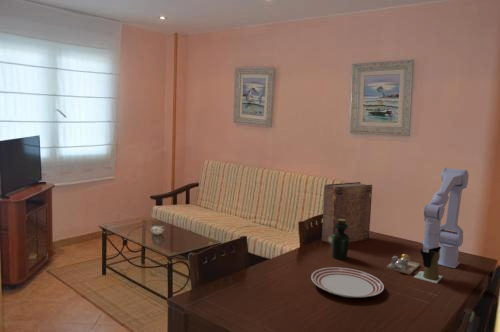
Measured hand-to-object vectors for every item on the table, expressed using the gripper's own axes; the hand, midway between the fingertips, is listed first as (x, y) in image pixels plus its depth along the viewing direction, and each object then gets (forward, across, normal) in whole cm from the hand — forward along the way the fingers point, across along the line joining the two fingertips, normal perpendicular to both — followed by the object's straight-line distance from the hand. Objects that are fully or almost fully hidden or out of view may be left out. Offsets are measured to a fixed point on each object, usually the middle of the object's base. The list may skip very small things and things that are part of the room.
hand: (429, 264), depth 176 cm
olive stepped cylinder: (+5, 0, +1) cm, 5 cm away
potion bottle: (+6, +3, -39) cm, 40 cm away
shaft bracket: (+5, -5, -12) cm, 14 cm away
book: (+6, -24, -49) cm, 55 cm away
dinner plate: (+6, +33, -21) cm, 40 cm away
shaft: (+4, -2, -12) cm, 13 cm away
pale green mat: (+5, 0, 0) cm, 5 cm away
